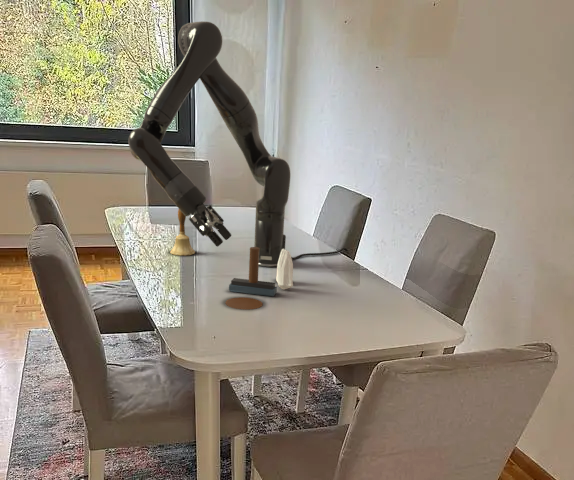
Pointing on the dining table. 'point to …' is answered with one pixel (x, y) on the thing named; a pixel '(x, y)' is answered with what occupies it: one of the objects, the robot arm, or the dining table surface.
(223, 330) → the dining table surface
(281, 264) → the shaker set
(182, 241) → the hand bell
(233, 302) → the brown round coaster
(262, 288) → the sponge wiper
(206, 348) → the dining table surface
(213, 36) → the robot arm
